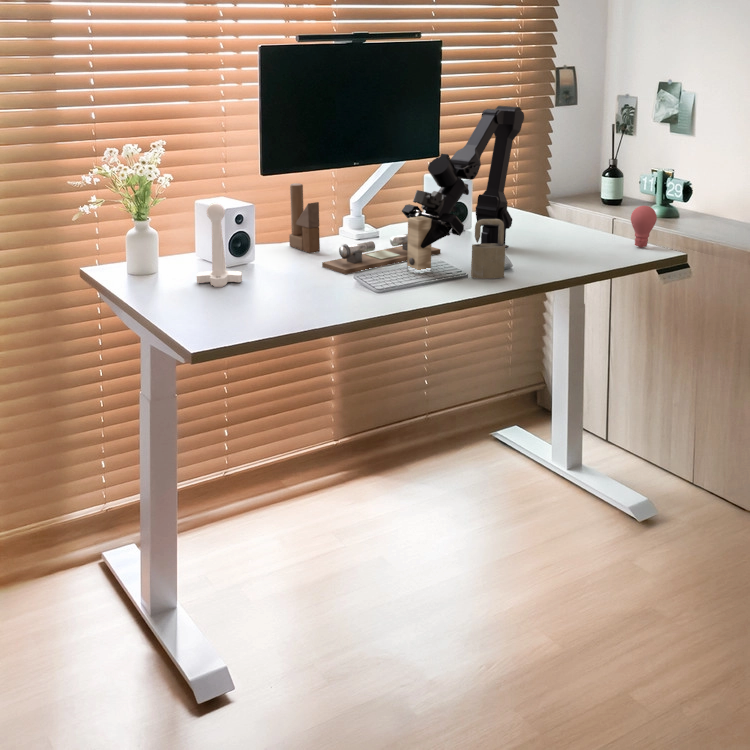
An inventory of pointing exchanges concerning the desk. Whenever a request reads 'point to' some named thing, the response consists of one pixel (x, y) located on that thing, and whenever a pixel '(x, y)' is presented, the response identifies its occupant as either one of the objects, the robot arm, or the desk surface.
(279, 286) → the desk surface
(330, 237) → the desk surface
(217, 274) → the joystick
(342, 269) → the base board
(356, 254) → the shafts
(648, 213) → the light bulb
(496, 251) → the padlock
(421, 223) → the tan wood post
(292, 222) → the wooden block
